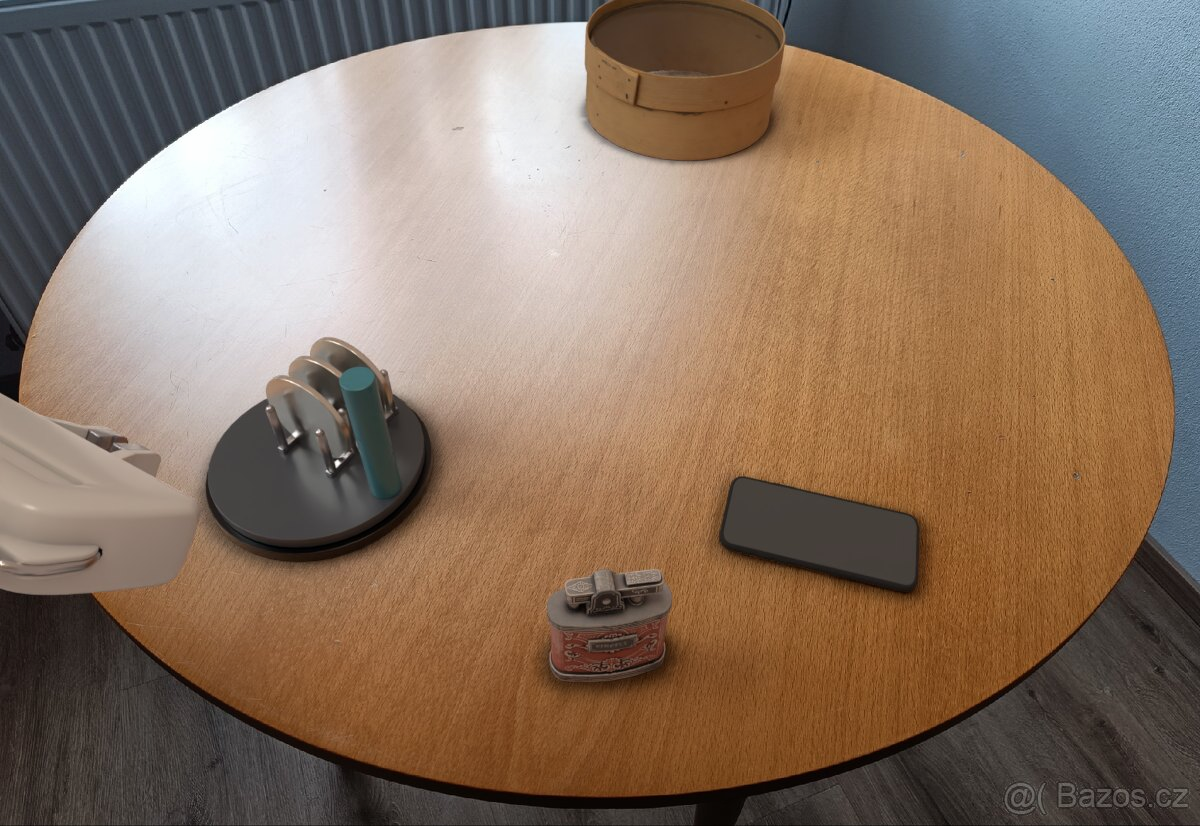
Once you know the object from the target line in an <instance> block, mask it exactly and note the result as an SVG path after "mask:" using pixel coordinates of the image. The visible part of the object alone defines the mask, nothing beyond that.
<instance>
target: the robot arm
mask: <svg viewBox="0 0 1200 826" xmlns="http://www.w3.org/2000/svg"><path fill="white" fill-rule="evenodd" d="M161 461H162V457H161V454H159V453H158V452H155V451H153V450H152V449H150V448H147V447H145V446H144V445H142V444H139V443H138V442H137V443H136V442H132V443H129V439H128V438H127V437H126V436H124V435H122V434H120V433H119V432H117V431H115V430H114V429H112V428H110V427H108V426H107V425H90V424H89V425H86V424H79V423H75V422H72V421H68V420H65V419H64V420H63V419H59V418H55V417H51V416H48V415H43V414H39V412H36V411H34V410H32V409H30V408H29V407H27V406H25V405H23V404H21V403H20V402H17V401H15V400H14V399H12V398H10V397H9V396H6V395H4V394H3V393H1V392H0V589H1V590H4V591H7V592H12V593H15V594H22V595H23V594H25V595H36V596H64V595H80V594H81V595H83V594H94V593H96V594H97V593H107V592H118V591H127V590H135V589H144V588H151V587H158V586H163V585H167V584H168V583H171V582H172V581H174V580H175V579H176V578H177V577H178V576H179V574H180V572H181V571H182V569H183V567H184V565H185V563H186V561H187V558H188V555H189V554H190V551H191V548H192V546H193V544H194V540H195V536H196V533H197V528H198V525H199V520H200V515H201V505H200V503H199V502H198V501H197V500H196V499H195V498H194V497H192V496H191V495H189V494H187V493H186V492H183V491H181V490H179V489H178V488H177V487H174V486H172V485H170V484H169V483H166V482H165V481H163V480H161V479H159V478H158V477H157V474H158V471H159V468H160V465H161Z"/></svg>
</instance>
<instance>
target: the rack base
mask: <svg viewBox="0 0 1200 826" xmlns="http://www.w3.org/2000/svg"><path fill="white" fill-rule="evenodd" d="M411 410H412V411H413V412H414V414H415V415H416V417H417V419H418V421H419V423H420V425H421V429H422V432H423V436H424V442H425V461H424V465H423V469H422V472H421V475H420V477H419V479H418V482H417V483H416V485H415V487H414V488H413V490H412V492H411V493H410V494H409V496H408V497H407V498H406V499H405V501H404V502H403V503H402V504H401V505H400V506H399V507H398V508H397V509H396V510H395V511H394V512H393V513H391V514H390V515H389V516H387V517H386V518H385V519H384V520H382V521H381V522H379V523H378V524H376V525H374V526H373V527H371V528H369V529H367V530H365V531H363V532H361V533H359V534H357V535H355V536H352V537H350V538H347V539H344V540H341V541H338V542H334V543H330V544H326V545H320V546H314V547H299V548H294V547H280V546H274V545H268V544H265V543H261V542H258V541H255V540H253V539H251V538H249V537H246V536H244V535H243V534H241V533H240V532H238V531H236V530H235V529H234V528H232V527H231V526H230V525H229V524H228V523H227V522H226V521H225V520H224V518H223V517H222V516H221V514H220V513H219V511H218V509H217V507H216V505H215V503H214V501H213V499H212V497H211V494H210V490H209V486H208V471H207V472H206V479H205V497H206V501H207V505H208V509H209V511H210V512H211V515H212V517H213V520H214V521H215V523H216V524H217V526H218V527H219V529H220V530H221V531H222V533H223V534H224V536H226V537H227V538H228V539H229V540H230V541H231V542H232V543H234V544H236V545H237V546H238V547H240V548H242V549H243V550H245V551H248V552H250V553H252V554H254V555H257V556H260V557H264V558H267V559H271V560H277V561H282V562H316V561H322V560H328V559H332V558H336V557H339V556H344V555H347V554H349V553H353V552H355V551H358V550H360V549H363V548H364V547H366V546H368V545H370V544H373V543H375V542H376V541H378V540H380V539H381V538H382V537H384V536H386V535H387V534H389V533H390V532H392V531H393V530H394V529H395V528H397V526H399V525H401V523H402V522H403V521H404V520H405V519H406V518H407V517H408V516H409V515H410V514H411V513H412V512H413V510H414V509H415V508H416V507H417V505H418V504H419V503H420V502H421V499H422V498H423V496H424V494H425V493H426V491H427V489H428V486H429V483H430V481H431V476H432V472H433V469H434V467H433V465H434V454H433V453H434V452H433V445H432V441H431V437H430V434H429V431H428V429H427V427H426V425H425V423H424V421H423V420H422V419H421V417H420V416H419V415H418V413H417V412H416V411H414V410H413V409H412V408H411Z"/></svg>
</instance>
